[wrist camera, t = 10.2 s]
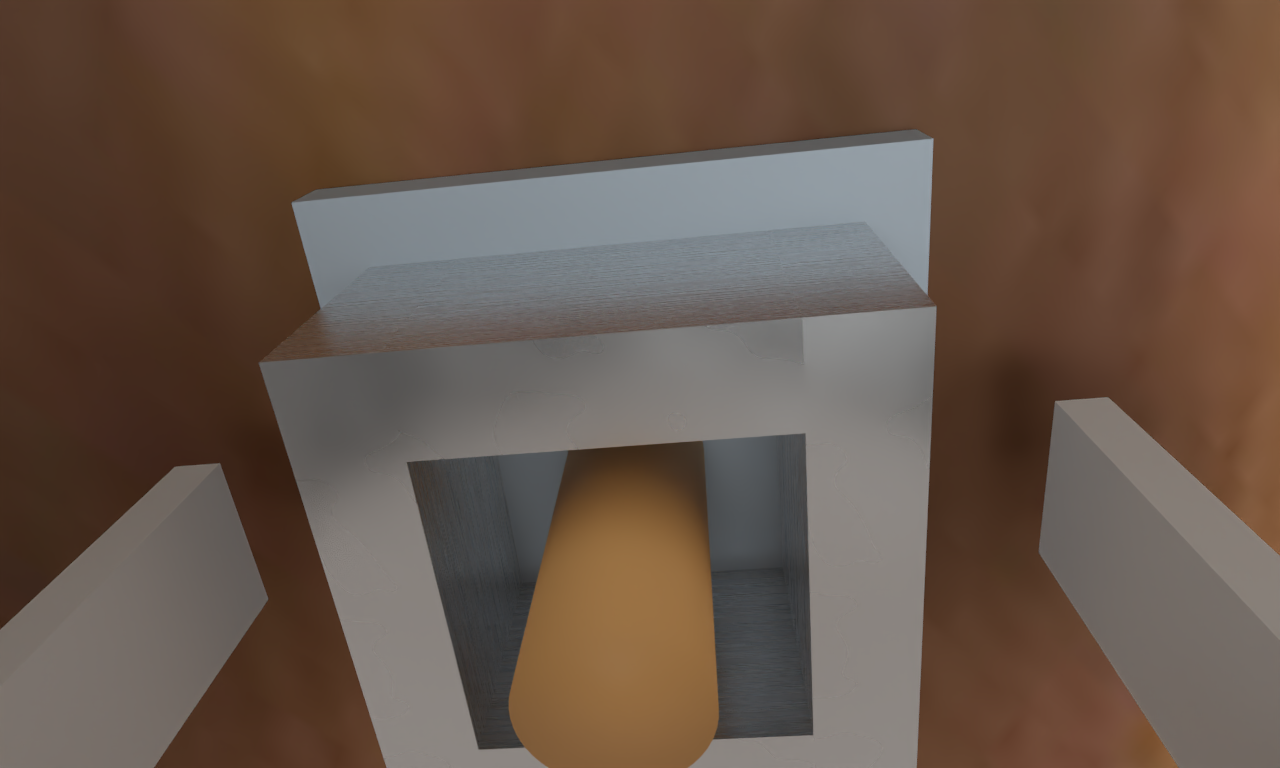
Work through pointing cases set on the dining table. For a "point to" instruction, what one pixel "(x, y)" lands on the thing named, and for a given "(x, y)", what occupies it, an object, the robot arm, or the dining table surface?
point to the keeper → (642, 474)
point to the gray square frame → (613, 417)
